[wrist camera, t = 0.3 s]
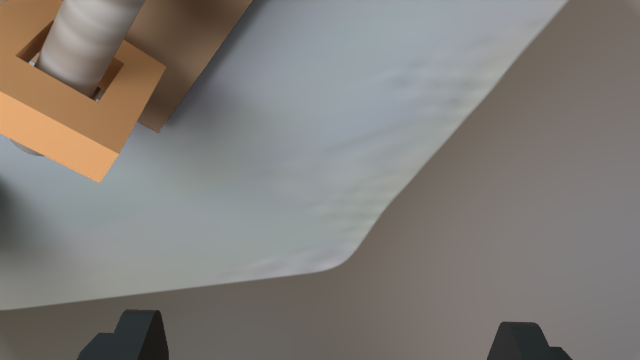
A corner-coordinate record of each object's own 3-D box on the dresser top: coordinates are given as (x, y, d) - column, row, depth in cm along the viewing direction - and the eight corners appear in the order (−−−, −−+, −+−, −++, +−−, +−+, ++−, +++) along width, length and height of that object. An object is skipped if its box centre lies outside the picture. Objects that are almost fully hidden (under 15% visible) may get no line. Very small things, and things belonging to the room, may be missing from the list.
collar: (32, -19, 26) (-66, 56, 20) (166, 66, 29) (118, 154, 23) (19, 15, 28) (-77, 95, 21) (149, 93, 31) (99, 183, 24)
